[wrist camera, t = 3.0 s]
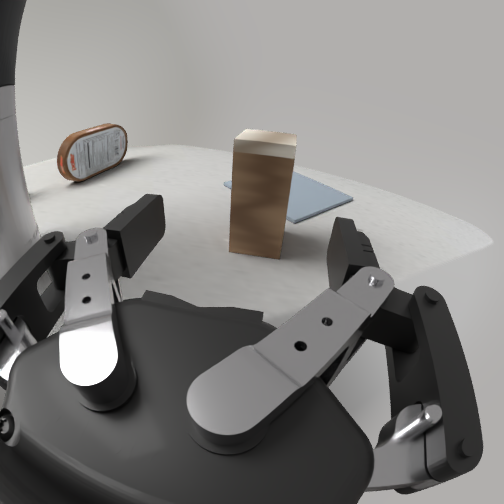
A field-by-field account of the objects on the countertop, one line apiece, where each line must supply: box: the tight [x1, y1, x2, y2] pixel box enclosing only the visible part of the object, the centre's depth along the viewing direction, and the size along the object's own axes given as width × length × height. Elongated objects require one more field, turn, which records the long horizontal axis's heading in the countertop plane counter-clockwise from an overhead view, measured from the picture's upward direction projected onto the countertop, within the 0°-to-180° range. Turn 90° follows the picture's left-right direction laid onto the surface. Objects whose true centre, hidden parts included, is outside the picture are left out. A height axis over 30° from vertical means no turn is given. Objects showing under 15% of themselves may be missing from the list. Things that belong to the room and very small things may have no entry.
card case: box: [229, 129, 297, 259], centre depth 23 cm, size 4×5×10 cm
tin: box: [57, 124, 128, 181], centre depth 38 cm, size 15×3×8 cm, turn 158°
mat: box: [224, 172, 353, 223], centre depth 37 cm, size 13×13×1 cm
